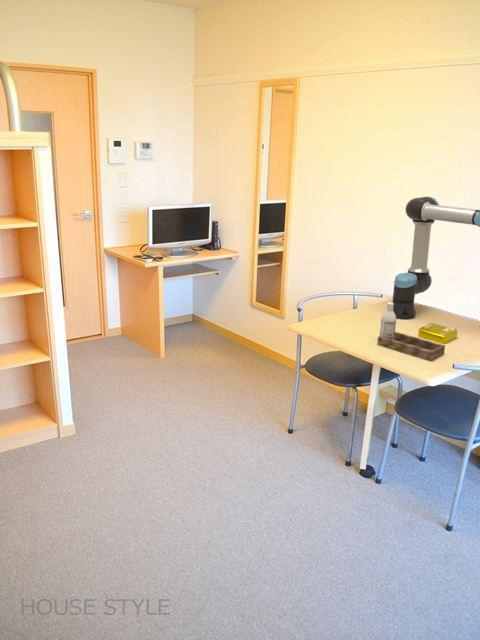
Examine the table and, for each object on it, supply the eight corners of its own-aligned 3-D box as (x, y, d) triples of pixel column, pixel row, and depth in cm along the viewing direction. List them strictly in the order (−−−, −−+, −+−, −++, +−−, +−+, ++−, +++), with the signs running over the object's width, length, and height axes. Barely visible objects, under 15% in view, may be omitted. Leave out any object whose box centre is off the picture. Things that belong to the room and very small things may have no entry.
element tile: (430, 330, 284) (431, 321, 282) (458, 337, 274) (459, 328, 272) (416, 337, 274) (417, 328, 272) (444, 345, 264) (445, 335, 262)
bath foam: (396, 343, 264) (401, 304, 257) (385, 345, 261) (389, 306, 254) (387, 338, 270) (391, 300, 263) (376, 340, 267) (380, 302, 260)
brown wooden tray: (377, 344, 262) (378, 337, 260) (391, 338, 270) (392, 330, 269) (431, 361, 243) (432, 352, 242) (443, 353, 252) (445, 345, 251)
